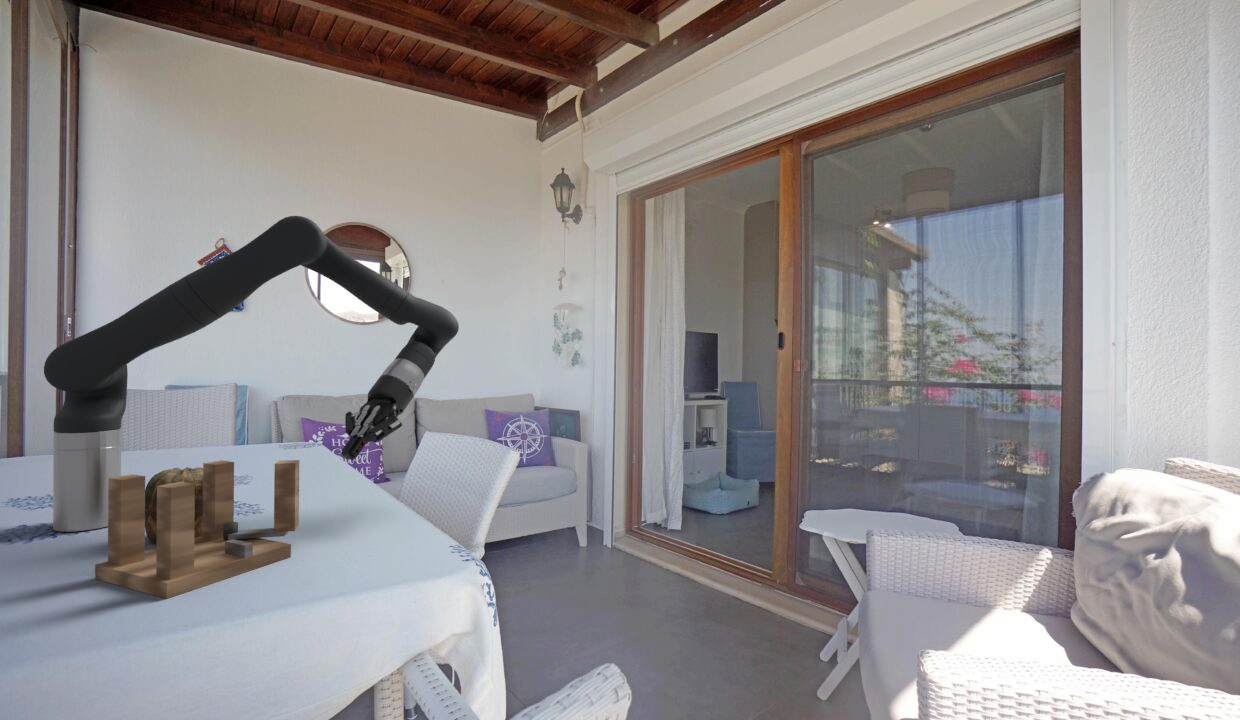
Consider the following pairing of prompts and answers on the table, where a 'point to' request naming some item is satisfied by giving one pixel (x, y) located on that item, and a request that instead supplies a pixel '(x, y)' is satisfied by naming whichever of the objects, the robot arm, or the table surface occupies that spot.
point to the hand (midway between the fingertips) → (347, 456)
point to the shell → (167, 478)
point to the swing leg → (276, 505)
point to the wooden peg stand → (179, 536)
